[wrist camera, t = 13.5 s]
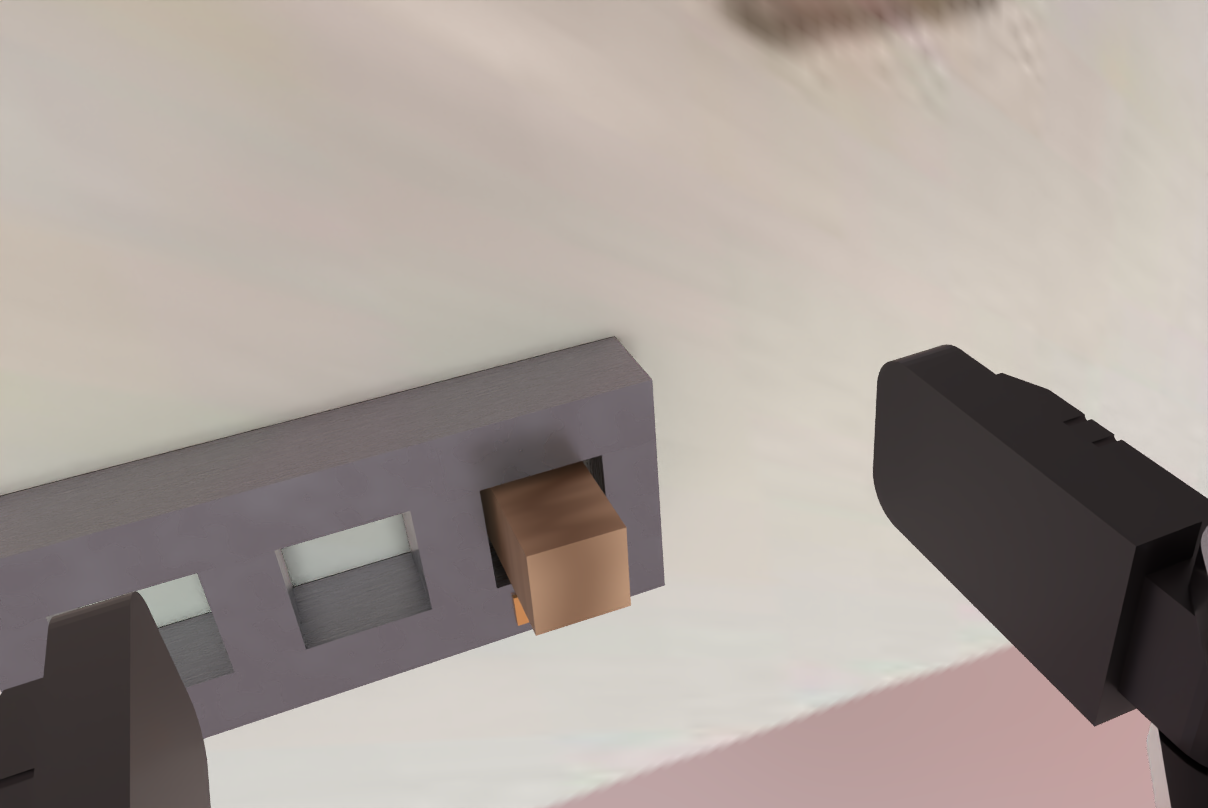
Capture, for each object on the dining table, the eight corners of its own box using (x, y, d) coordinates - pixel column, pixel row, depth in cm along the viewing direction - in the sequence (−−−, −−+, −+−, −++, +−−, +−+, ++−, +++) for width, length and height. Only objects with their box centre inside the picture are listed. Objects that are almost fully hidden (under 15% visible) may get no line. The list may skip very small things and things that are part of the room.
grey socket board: (614, 336, 45) (654, 382, 42) (630, 534, 51) (666, 588, 48) (-48, 508, 38) (-64, 579, 35) (59, 714, 44) (54, 792, 41)
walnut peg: (556, 423, 47) (626, 527, 40) (563, 495, 49) (630, 605, 42) (469, 445, 45) (526, 556, 39) (480, 519, 48) (536, 635, 41)
